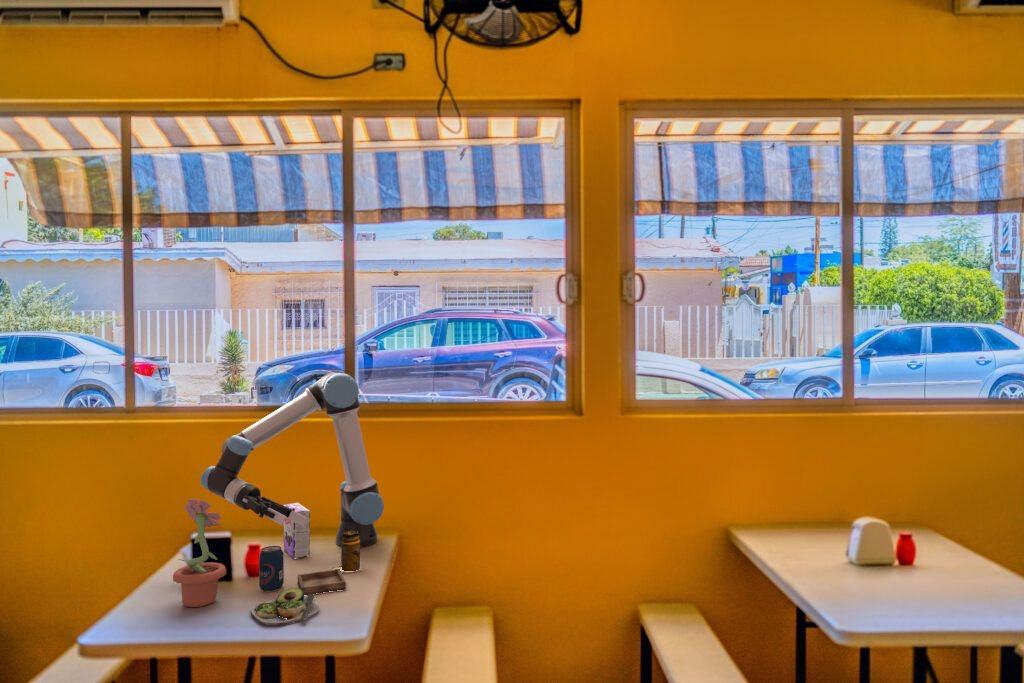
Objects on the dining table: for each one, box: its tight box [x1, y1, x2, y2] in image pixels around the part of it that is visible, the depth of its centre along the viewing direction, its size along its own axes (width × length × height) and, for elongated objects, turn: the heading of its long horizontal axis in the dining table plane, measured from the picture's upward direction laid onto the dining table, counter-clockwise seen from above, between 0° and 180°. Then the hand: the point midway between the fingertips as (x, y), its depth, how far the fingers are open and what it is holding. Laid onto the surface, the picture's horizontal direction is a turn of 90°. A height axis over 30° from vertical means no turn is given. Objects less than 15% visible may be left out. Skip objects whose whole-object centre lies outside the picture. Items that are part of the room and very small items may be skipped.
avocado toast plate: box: [250, 587, 321, 627], centre depth 179 cm, size 19×18×5 cm
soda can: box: [258, 545, 285, 592], centre depth 199 cm, size 7×7×12 cm
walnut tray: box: [297, 569, 347, 595], centre depth 200 cm, size 13×13×2 cm
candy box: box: [282, 502, 311, 560], centre depth 233 cm, size 14×6×16 cm, turn 33°
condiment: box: [333, 531, 365, 572], centre depth 215 cm, size 7×8×12 cm
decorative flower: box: [172, 498, 227, 608], centre depth 188 cm, size 15×14×30 cm
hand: (295, 521), depth 205 cm, fingers open, 13 cm apart
